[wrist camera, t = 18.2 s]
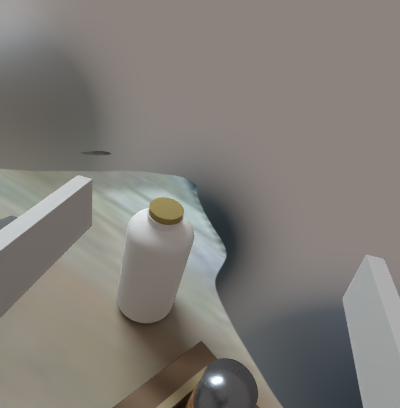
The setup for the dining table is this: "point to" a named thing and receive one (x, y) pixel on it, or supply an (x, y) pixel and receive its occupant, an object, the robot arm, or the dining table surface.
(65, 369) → the dining table surface
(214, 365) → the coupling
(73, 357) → the dining table surface
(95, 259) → the dining table surface
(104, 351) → the dining table surface
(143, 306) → the potion bottle
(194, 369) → the socket
